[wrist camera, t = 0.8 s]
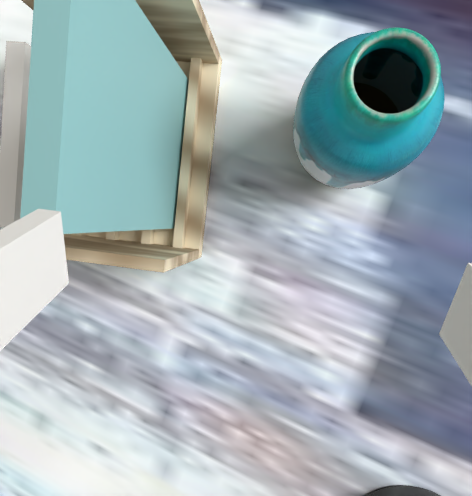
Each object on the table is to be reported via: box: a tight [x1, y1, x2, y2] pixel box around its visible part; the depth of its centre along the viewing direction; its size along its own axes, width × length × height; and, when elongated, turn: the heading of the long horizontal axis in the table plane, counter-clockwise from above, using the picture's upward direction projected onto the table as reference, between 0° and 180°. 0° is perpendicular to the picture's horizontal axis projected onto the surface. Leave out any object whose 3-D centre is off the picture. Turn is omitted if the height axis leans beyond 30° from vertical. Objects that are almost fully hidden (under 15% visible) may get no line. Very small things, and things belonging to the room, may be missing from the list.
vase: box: [293, 28, 444, 189], centre depth 31 cm, size 11×11×19 cm
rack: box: [22, 0, 222, 273], centre depth 36 cm, size 22×15×14 cm
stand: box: [0, 41, 31, 227], centre depth 42 cm, size 20×8×4 cm, turn 174°
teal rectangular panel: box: [20, 0, 189, 234], centre depth 30 cm, size 16×2×22 cm, turn 174°
